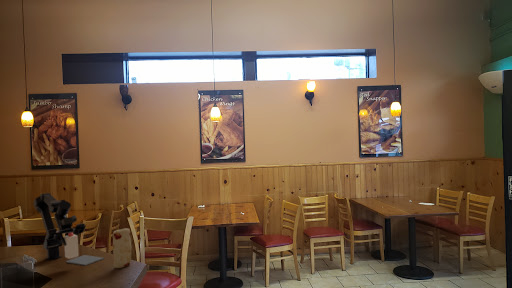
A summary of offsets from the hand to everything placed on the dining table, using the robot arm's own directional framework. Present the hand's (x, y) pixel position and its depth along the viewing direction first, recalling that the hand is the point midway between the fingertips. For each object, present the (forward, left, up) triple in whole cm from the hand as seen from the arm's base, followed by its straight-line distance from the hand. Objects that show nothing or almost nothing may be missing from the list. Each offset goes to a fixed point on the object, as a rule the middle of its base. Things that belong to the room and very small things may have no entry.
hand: (71, 244), depth 196 cm
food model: (+25, +11, -13) cm, 30 cm away
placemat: (-4, +11, -13) cm, 17 cm away
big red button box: (0, 0, -7) cm, 7 cm away
